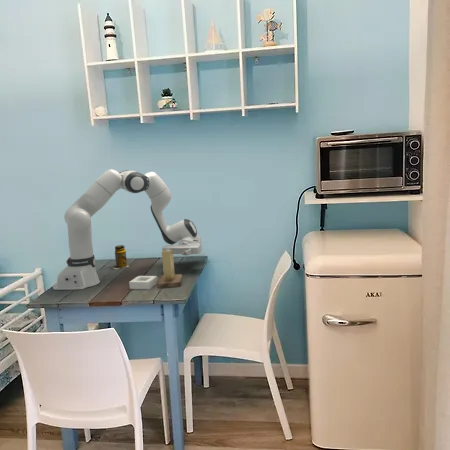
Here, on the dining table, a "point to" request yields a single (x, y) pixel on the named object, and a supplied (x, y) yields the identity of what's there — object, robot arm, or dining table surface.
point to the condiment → (120, 257)
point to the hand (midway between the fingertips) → (176, 253)
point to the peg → (168, 264)
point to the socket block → (143, 282)
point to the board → (169, 281)
